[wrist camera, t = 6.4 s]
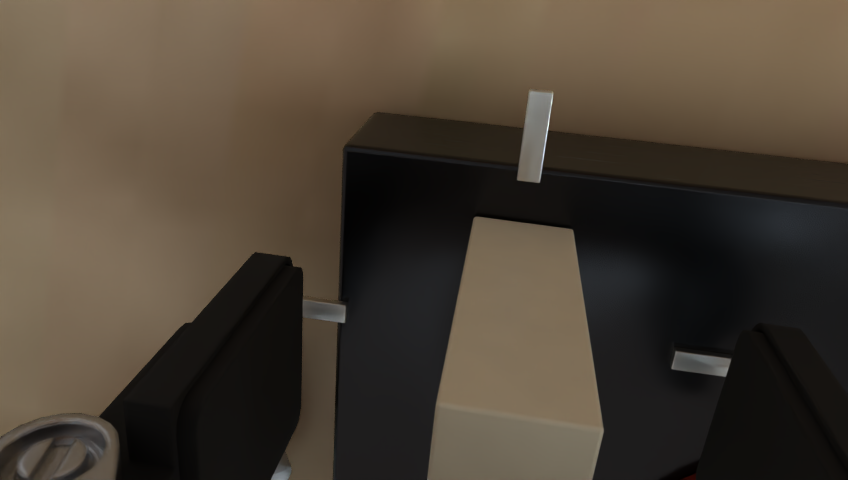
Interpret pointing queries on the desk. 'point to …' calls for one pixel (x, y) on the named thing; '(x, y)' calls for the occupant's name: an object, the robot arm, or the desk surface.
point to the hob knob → (518, 362)
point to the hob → (599, 271)
